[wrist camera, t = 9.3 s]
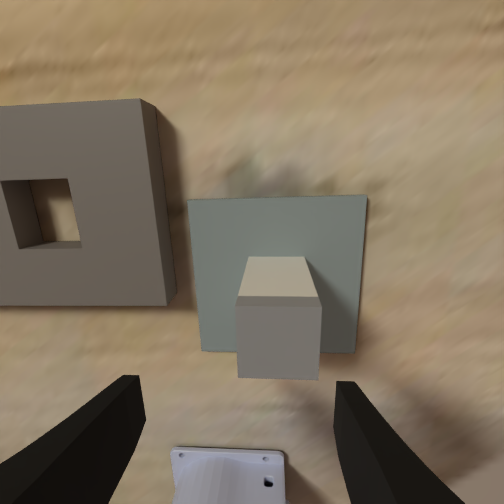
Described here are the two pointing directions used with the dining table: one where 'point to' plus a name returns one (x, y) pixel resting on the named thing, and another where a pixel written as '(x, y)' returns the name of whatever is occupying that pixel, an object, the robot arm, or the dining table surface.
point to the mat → (278, 245)
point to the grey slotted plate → (85, 206)
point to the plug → (278, 320)
